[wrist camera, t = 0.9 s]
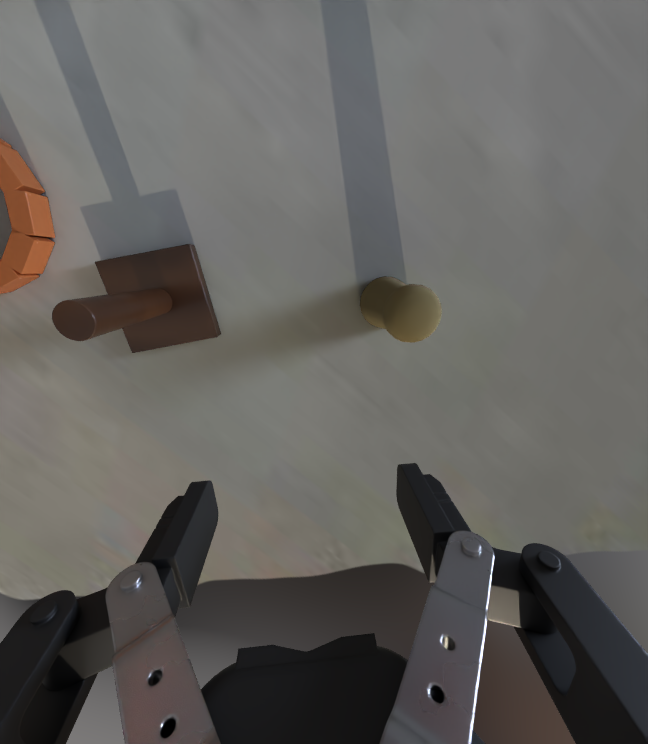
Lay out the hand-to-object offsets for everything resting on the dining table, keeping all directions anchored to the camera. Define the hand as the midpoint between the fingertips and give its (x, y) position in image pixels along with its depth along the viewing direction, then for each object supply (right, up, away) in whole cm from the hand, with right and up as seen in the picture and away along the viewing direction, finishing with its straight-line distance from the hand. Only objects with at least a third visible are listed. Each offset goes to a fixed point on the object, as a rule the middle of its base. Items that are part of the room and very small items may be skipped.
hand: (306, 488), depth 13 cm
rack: (-17, +13, +21) cm, 31 cm away
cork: (+8, +13, +23) cm, 28 cm away
